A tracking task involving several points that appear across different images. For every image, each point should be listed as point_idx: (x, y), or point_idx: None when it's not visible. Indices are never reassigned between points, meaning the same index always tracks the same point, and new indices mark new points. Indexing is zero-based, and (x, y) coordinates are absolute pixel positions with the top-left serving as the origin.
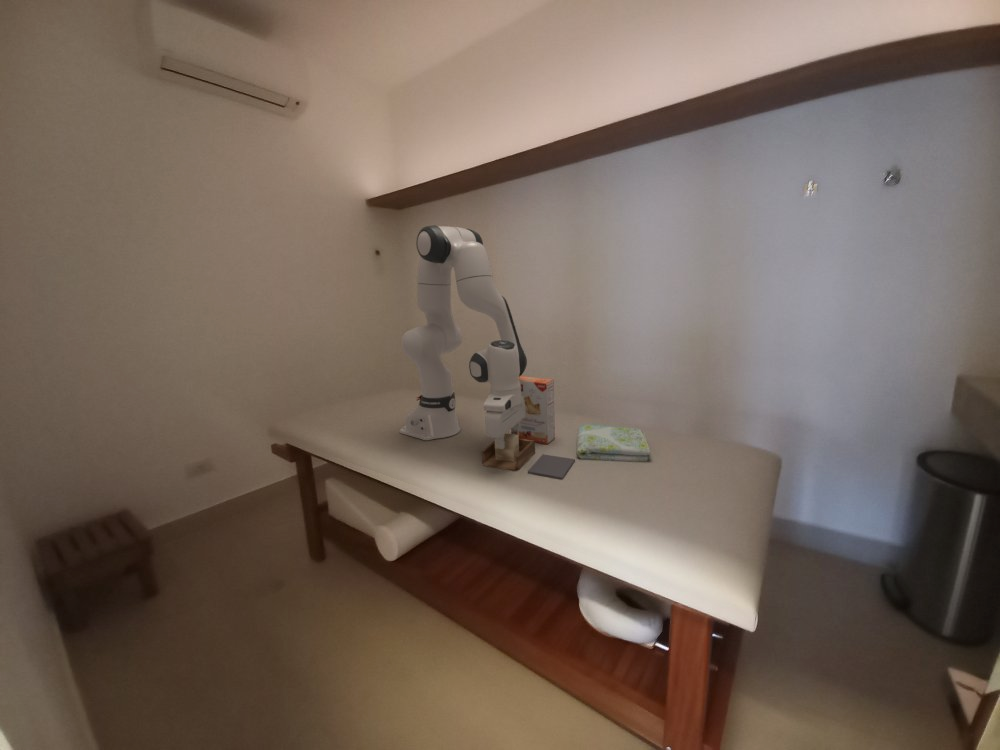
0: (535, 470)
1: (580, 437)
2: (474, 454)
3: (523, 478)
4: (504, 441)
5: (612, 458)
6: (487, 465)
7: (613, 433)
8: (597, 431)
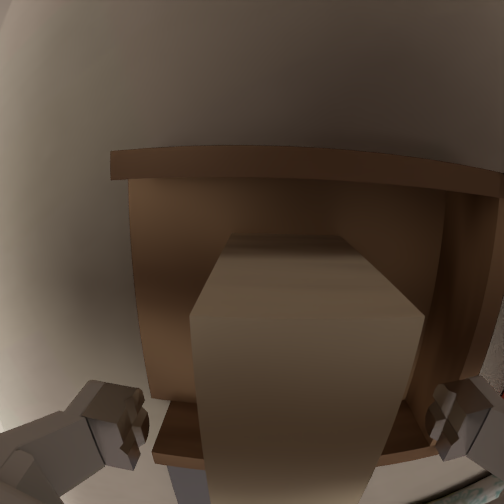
0: (188, 470)
1: None
2: (282, 24)
3: None
4: (129, 461)
5: None
6: (133, 213)
7: None
8: None
